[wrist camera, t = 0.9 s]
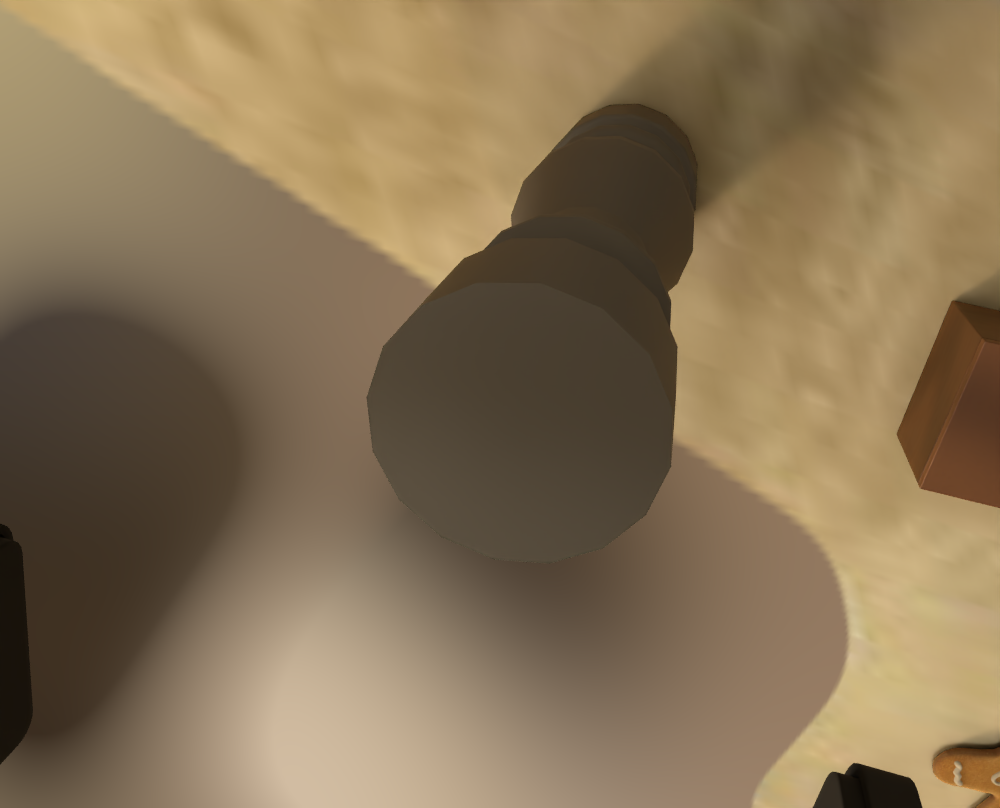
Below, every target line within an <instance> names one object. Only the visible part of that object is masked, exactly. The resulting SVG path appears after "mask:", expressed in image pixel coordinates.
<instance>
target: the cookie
mask: <svg viewBox="0 0 1000 808" xmlns="http://www.w3.org/2000/svg"><path fill="white" fill-rule="evenodd" d="M932 766H933V773H934V774H935V775H936V777H937V778H938V779H940V780H941V781H943V782H944V783H947V784H950V785H953V786H959V787H965V788H969V789H973V790H977V791H981V792H985V793H990V794H991V795H990V796H989V797H988V798H987V799H985V800H984V801H983V802H982V803H980V804H979V805H978V806H977V807H975V808H1000V746H999V747H998V748H995V749H971V748H952V749H949V750H945V751H944V752H942V753H941V754H939V755H938V756H937V757H936V758H935V759H934V762H933V765H932Z"/></svg>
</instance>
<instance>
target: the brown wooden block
mask: <svg viewBox="0 0 1000 808" xmlns="http://www.w3.org/2000/svg"><path fill="white" fill-rule="evenodd" d="M897 436H898V439H899V441H900V443H901V445H902V448H903V450H904V452H905V455H906V457H907V459H908V462H909V464H910V466H911V469H912V471H913V473H914V475H915V478H916V480H917V482H918V485H919V487H920V488H921V489H924V490H928V491H932V492H936V493H941V494H945V495H949V496H953V497H957V498H961V499H965V500H969V501H973V502H977V503H981V504H985V505H989V506H994V507H998V508H1000V311H998V310H993V309H989V308H984V307H980V306H975V305H971V304H966V303H962V302H957V301H952V303H951V305H950V307H949V310H948V312H947V315H946V317H945V319H944V322H943V324H942V327H941V329H940V331H939V334H938V336H937V339H936V341H935V343H934V346H933V348H932V351H931V353H930V356H929V358H928V360H927V363H926V365H925V368H924V370H923V372H922V375H921V377H920V380H919V382H918V384H917V387H916V389H915V392H914V394H913V396H912V399H911V401H910V404H909V406H908V409H907V411H906V413H905V416H904V418H903V421H902V423H901V425H900V428H899V430H898V433H897Z"/></svg>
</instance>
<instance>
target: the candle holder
mask: <svg viewBox="0 0 1000 808" xmlns="http://www.w3.org/2000/svg"><path fill="white" fill-rule="evenodd" d="M696 182H697V162H696V159H695V156H694V154H693V151H692V149H691V146H690V143H689V141H688V138H687V136H686V135H685V134H684V133H683V132H682V131H681V130H680V129H679V128H678V127H677V126H676V125H675V124H674V122H673V121H672V120H671V119H670V118H669V117H668V116H667V115H665V114H662V113H660V112H657V111H655V110H652V109H650V108H647V107H645V106H642V105H640V104H627V105H609V106H606V107H604V108H602V109H600V110H598V111H595V112H593V113H591V114H589V115H587V116H585V117H583V118H582V119H581V120H580V121H579V122H578V123H577V124H576V125H575V126H574V127H573V128H572V129H571V130H570V131H569V132H568V133H567V135H566V136H565V137H564V138H563V139H562V140H561V141H560V142H559V143H558V144H557V145H556V146H555V148H554V149H553V150H552V151H551V152H550V153H549V154H548V155H547V157H546V158H545V159H544V160H543V161H542V162H541V163H540V164H539V165H538V166H537V167H536V168H535V170H534V171H533V172H532V173H531V174H530V175H529V176H528V177H527V178H526V179H525V180H524V181H523V184H522V187H521V190H520V192H519V195H518V198H517V200H516V203H515V206H514V209H513V211H512V214H511V221H512V227H510V228H508V229H505V230H503V231H501V232H500V233H499V234H498V235H497V236H496V237H495V239H494V240H493V241H492V242H491V243H490V244H489V245H488V246H487V247H486V248H485V249H484V250H483V251H480V252H478V253H476V254H473V255H471V256H469V257H466V258H464V259H463V260H462V261H461V262H460V263H459V264H458V265H457V266H456V267H455V268H454V269H453V271H452V272H451V273H450V274H449V275H448V276H447V277H446V278H445V279H444V280H443V281H442V282H441V283H440V284H439V286H438V287H437V288H436V289H435V290H434V291H433V292H432V293H431V294H430V295H429V296H428V297H427V298H426V300H425V301H424V302H423V303H422V304H421V305H420V306H419V308H418V309H417V310H416V311H415V312H414V313H413V314H412V315H411V316H410V317H409V318H408V320H407V321H406V322H405V323H404V324H403V325H402V326H401V327H400V328H399V329H398V331H397V332H396V333H395V334H394V335H393V336H392V337H391V338H390V339H389V340H388V342H387V343H386V344H385V345H384V346H383V348H382V352H381V355H380V358H379V361H378V364H377V367H376V370H375V373H374V377H373V380H372V383H371V386H370V389H369V392H368V395H367V405H368V414H369V422H370V431H371V439H372V448H373V453H374V454H375V456H376V458H377V460H378V462H379V463H380V465H381V467H382V469H383V471H384V473H385V474H386V476H387V478H388V480H389V482H390V484H391V486H392V488H393V489H394V491H395V493H396V495H397V496H398V499H399V500H400V501H402V503H403V504H405V505H406V506H407V507H408V508H409V509H410V510H411V511H412V512H414V513H415V514H416V515H417V516H418V517H419V518H420V519H421V520H423V521H424V522H425V523H426V524H427V525H428V526H429V527H430V528H432V529H433V530H434V531H435V532H436V533H437V534H438V535H439V536H441V537H442V538H445V539H447V540H449V541H452V542H454V543H456V544H459V545H461V546H463V547H466V548H468V549H471V550H473V551H475V552H478V553H480V554H482V555H485V556H487V557H489V558H492V559H497V560H510V561H511V560H512V561H524V562H525V561H526V562H537V563H553V562H557V561H560V560H563V559H567V558H570V557H574V556H578V555H581V554H585V553H589V552H592V551H596V550H599V549H602V548H604V547H605V546H607V545H608V544H609V543H611V542H612V541H613V540H614V539H616V538H617V537H618V536H620V535H621V534H622V533H623V532H625V531H626V530H627V529H629V528H630V527H631V526H632V525H634V524H635V523H636V522H637V521H639V520H640V519H641V518H643V517H644V516H645V515H646V513H647V512H648V510H649V508H650V506H651V504H652V502H653V500H654V498H655V496H656V494H657V492H658V491H659V488H660V487H661V485H662V483H663V481H664V479H665V477H666V475H667V473H668V471H669V469H670V467H671V458H672V444H673V430H674V415H675V401H676V375H677V344H676V342H675V340H674V337H673V335H672V332H671V330H670V318H671V299H670V297H669V295H668V291H669V290H671V289H672V288H673V287H674V286H675V285H676V284H677V283H678V281H679V279H680V277H681V275H682V272H683V270H684V268H685V266H686V264H687V262H688V260H689V258H690V255H691V253H692V251H693V232H694V211H695V208H696Z"/></svg>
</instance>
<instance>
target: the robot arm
mask: <svg viewBox="0 0 1000 808" xmlns="http://www.w3.org/2000/svg"><path fill="white" fill-rule="evenodd" d="M24 587H25V586H24V571H23V556H22V549H21V546H20V545H19V543H17V542H15V541H13V536H12V532H11V531H10V529H9V528H8V527H7V526H5V525H2V524H0V764H1V763H2V762H3V761H4V760H5V759H6V758H7V756H9V754H10V753H11V752H12V751H13V750H14V749H15V748H16V747H17V746H18V744H19V743H20V742H21V741H22V739H23V737H24V736H25V734H26V733H27V730H28V728H29V726H30V723H31V719H32V713H33V707H32V692H31V676H30V662H29V646H28V631H27V616H26V601H25V588H24ZM813 808H922V805H921V801H920V798H919V794H918V791H917V788H916V786H915V783H914V782H913V781H912V780H911V779H910V778H908V777H905V776H901V775H897V774H894V773H890V772H887V771H883V770H880V769H876V768H872V767H869V766H865V765H862V764H858V763H853V764H852V765H851V766H850V767H849V768H848V770H847V771H846V773H845V775H844V774H841V773H837V772H831V773H830V774H829V775H828V777H827V778H826V780H825V782H824V785H823V787H822V789H821V791H820V793H819V795H818V798H817V800H816V802H815V804H814V806H813Z"/></svg>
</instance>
